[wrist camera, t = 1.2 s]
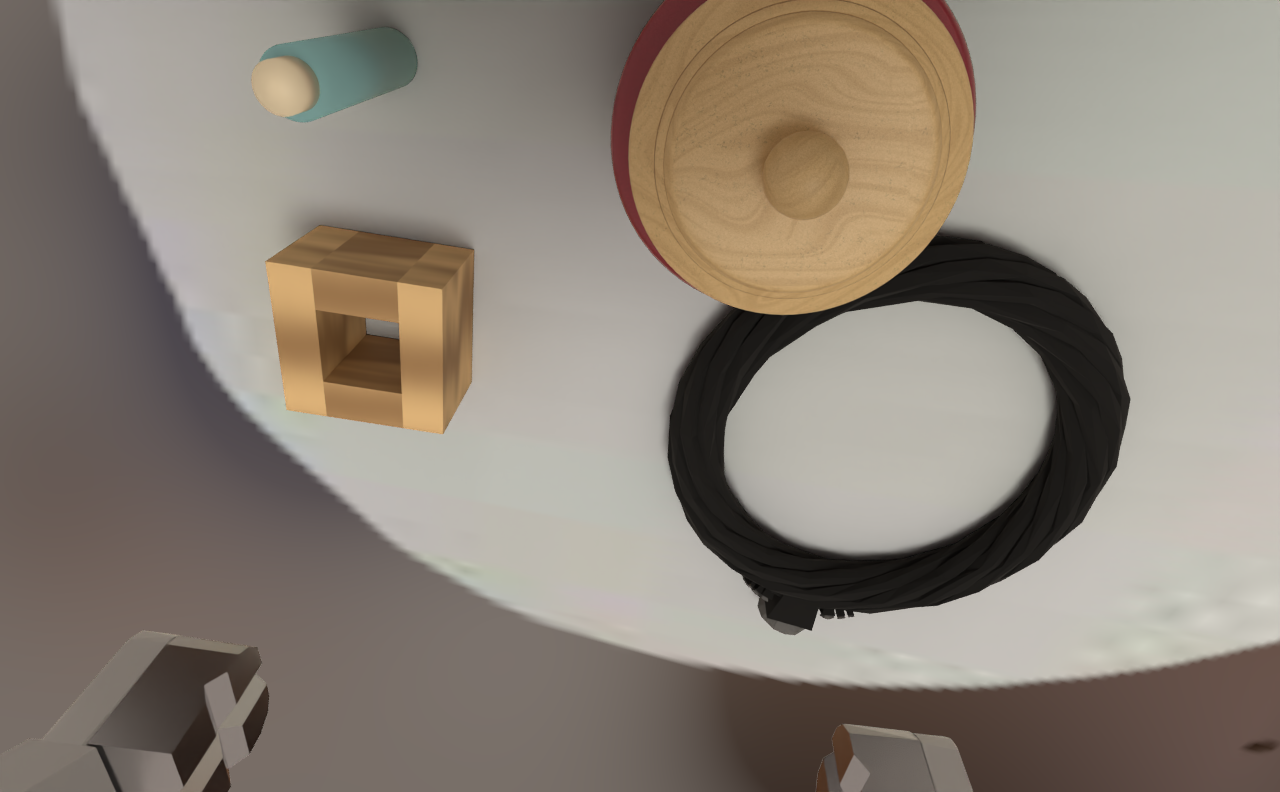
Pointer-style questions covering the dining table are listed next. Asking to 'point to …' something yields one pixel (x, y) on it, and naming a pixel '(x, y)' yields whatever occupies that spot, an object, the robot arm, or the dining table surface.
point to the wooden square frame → (365, 364)
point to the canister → (792, 143)
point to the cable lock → (989, 555)
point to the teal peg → (332, 72)
